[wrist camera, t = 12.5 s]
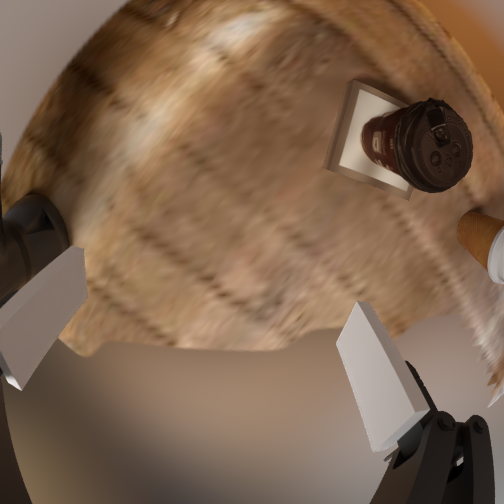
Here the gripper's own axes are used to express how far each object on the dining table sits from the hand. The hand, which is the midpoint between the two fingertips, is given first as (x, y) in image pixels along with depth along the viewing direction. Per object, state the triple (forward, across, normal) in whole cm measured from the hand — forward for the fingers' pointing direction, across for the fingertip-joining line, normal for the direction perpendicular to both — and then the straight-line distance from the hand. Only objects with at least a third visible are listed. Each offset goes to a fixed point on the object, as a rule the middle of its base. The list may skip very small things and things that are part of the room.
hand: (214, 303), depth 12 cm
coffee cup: (+21, +16, +12) cm, 29 cm away
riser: (+24, +16, +12) cm, 31 cm away
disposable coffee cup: (+23, +39, +5) cm, 46 cm away
